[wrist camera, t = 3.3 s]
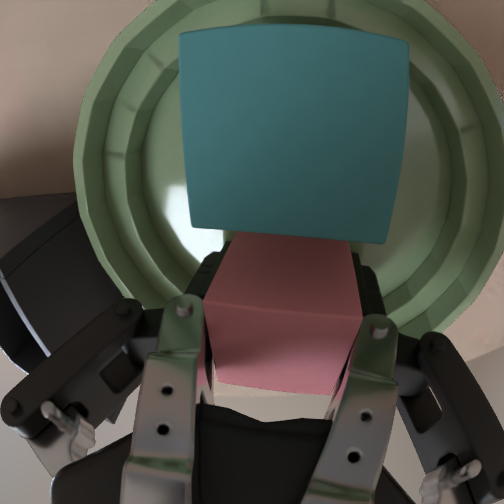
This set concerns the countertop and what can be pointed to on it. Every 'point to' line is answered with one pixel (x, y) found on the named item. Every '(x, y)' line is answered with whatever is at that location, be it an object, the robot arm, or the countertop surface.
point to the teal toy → (293, 129)
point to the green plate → (208, 240)
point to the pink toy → (283, 312)
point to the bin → (48, 279)
